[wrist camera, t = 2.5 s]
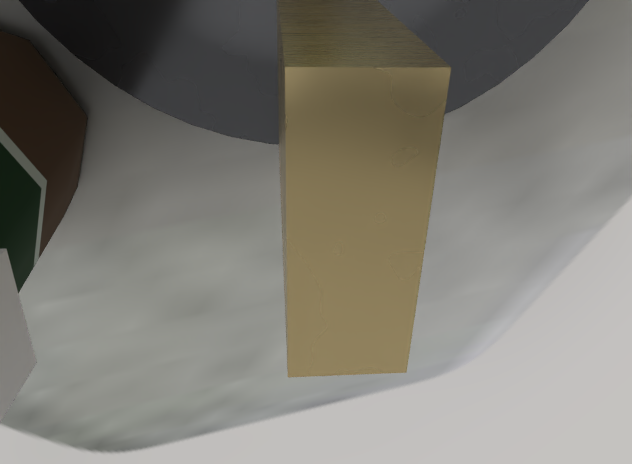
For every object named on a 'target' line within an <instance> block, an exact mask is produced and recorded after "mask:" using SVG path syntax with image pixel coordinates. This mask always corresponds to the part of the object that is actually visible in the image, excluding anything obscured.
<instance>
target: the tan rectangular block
mask: <svg viewBox="0 0 632 464" xmlns="http://www.w3.org/2000/svg"><path fill="white" fill-rule="evenodd" d="M277 56H278V117H279V163H280V188H281V214H282V239H283V265H284V290H285V316H286V341H287V367H288V377H307V376H332V375H356V374H381V373H405V372H407V365H408V358H409V351H410V344H411V338H412V331H413V324H414V317H415V311H416V304H417V297H418V290H419V283H420V277H421V270H422V263H423V256H424V249H425V243H426V236H427V229H428V222H429V215H430V209H431V202H432V195H433V188H434V182H435V175H436V168H437V161H438V154H439V148H440V141H441V134H442V127H443V120H444V114H445V107H446V100H447V93H448V86H449V80H450V73H451V67H450V66H449V65H448V64H447V63H446V62H445V61H444V60H443V59H441V58H440V57H439V56H438V55H437V54H436V53H435V52H434V51H433V50H432V49H430V48H429V47H428V46H427V45H426V44H425V43H424V42H423V41H422V40H420V39H419V38H418V37H417V36H416V35H415V34H414V33H413V32H412V31H411V30H409V29H408V28H407V27H406V26H405V25H404V24H403V23H402V22H401V21H399V20H398V19H397V18H396V17H395V16H394V15H393V14H392V13H391V12H390V11H388V10H387V9H386V8H385V7H384V6H383V5H382V4H381V3H380V2H378V1H377V0H277Z"/></svg>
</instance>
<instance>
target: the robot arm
mask: <svg viewBox="0 0 632 464" xmlns="http://www.w3.org/2000/svg"><path fill="white" fill-rule="evenodd" d="M36 363H37V362H36V358H35V354H34V350H33V347H32V343H31V339H30V335H29V332H28V328H27V324H26V320H25V317H24V313H23V309H22V305H21V302H20V298H19V294H18V290H17V287H16V283H15V279H14V275H13V272H12V268H11V264H10V260H9V257H8V253H7V249H0V422H1V421H2V419H3V417H4V416H5V414H6V412H7V411H8V409H9V407H10V406H11V404H12V402H13V401H14V399H15V398H16V396H17V394H18V393H19V391H20V389H21V388H22V386H23V384H24V383H25V381H26V379H27V378H28V376H29V374H30V373H31V371H32V369H33V368H34V366H35V364H36Z"/></svg>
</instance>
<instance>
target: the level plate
mask: <svg viewBox="0 0 632 464" xmlns="http://www.w3.org/2000/svg"><path fill="white" fill-rule="evenodd" d="M19 1H20V2H21V3H22V4H23V5H24V7H25V8H26V9H27V10H28V11H29V12H30V13H31V14H32V16H33V17H34V18H35V19H36V20H37V21H38V22H39V23H40V24H41V25H42V26H43V27H44V28H45V29H46V30H48V31H49V32H50V33H51V34H52V35H53V36H54V37H55V38H56V39H57V40H58V41H59V42H61V43H62V44H63V45H64V46H65V47H66V48H67V49H68V50H69V51H70V52H71V53H73V54H74V55H75V56H76V57H77V58H79V59H80V60H81V61H83V62H84V63H85V64H87V65H88V66H89V67H91V68H92V69H93V70H95V71H96V72H97V73H99V74H100V75H101V76H103V77H104V78H105V79H107V80H108V81H110V82H111V83H112V84H114V85H115V86H117V87H119V88H120V89H122V90H124V91H125V92H127V93H129V94H131V95H132V96H134V97H136V98H137V99H139V100H141V101H143V102H144V103H146V104H148V105H149V106H151V107H153V108H155V109H157V110H160V111H162V112H164V113H166V114H169V115H171V116H173V117H176V118H178V119H180V120H182V121H185V122H187V123H189V124H192V125H194V126H198V127H201V128H204V129H208V130H211V131H214V132H217V133H221V134H224V135H227V136H231V137H235V138H241V139H247V140H252V141H258V142H264V143H269V144H279V117H278V56H277V0H19ZM377 1H378V2H380V3H381V4H382V5H383V6H384V7H385V8H386V9H387V10H388V11H390V12H391V13H392V14H393V15H394V16H395V17H396V18H397V19H398V20H399V21H401V22H402V23H403V24H404V25H405V26H406V27H407V28H408V29H409V30H411V31H412V32H413V33H414V34H415V35H416V36H417V37H418V38H419V39H420V40H422V41H423V42H424V43H425V44H426V45H427V46H428V47H429V48H430V49H432V50H433V51H434V52H435V53H436V54H437V55H438V56H439V57H440V58H441V59H443V60H444V61H445V62H446V63H447V64H448V65H449V66H450V67H451V73H450V80H449V86H448V93H447V100H446V107H445V114H446V113H448V112H451V111H453V110H455V109H457V108H459V107H461V106H463V105H465V104H466V103H468V102H470V101H471V100H473V99H475V98H476V97H478V96H480V95H481V94H483V93H485V92H486V91H488V90H490V89H491V88H493V87H495V86H496V85H498V84H499V83H501V82H502V81H503V80H504V79H506V78H507V77H508V76H510V75H511V74H512V73H514V72H515V71H516V70H517V69H519V68H520V67H521V66H523V65H524V64H525V63H527V62H528V61H529V60H531V59H532V58H533V57H534V56H535V55H536V54H537V53H538V52H540V51H541V50H542V49H543V48H544V47H545V46H546V45H547V44H548V43H549V42H550V41H551V40H552V39H553V38H554V37H555V36H556V35H557V34H559V33H560V32H561V31H562V30H563V29H564V28H565V27H566V26H567V25H568V24H569V23H570V21H571V20H572V19H573V18H574V17H575V16H576V15H577V13H578V12H579V11H580V10H581V9H582V8H583V6H584V5H585V4H586V3H587V2H588V1H589V0H377Z"/></svg>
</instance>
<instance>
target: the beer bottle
mask: <svg viewBox="0 0 632 464" xmlns="http://www.w3.org/2000/svg"><path fill="white" fill-rule="evenodd" d="M86 124H87V117H86V114H85V113H84V112H83V110H82V109H81V108H80V106H79V105H78V104H77V102H76V101H75V100H74V98H73V97H72V96H71V94H70V93H69V92H68V91H67V89H66V88H65V87H64V85H63V84H62V83H61V81H60V80H59V79H58V77H57V76H56V75H55V73H54V72H53V71H52V70H51V68H50V67H49V66H48V64H47V63H46V62H45V60H44V59H43V58H42V56H41V55H40V54H39V52H38V51H37V50H36V48H35V47H34V46H33V45H32V43H31V42H30V41H29V40H26V39H23V38H20V37H17V36H14V35H11V34H8V33H5V32H2V31H0V249H7V253H8V257H9V260H10V264H11V268H12V272H13V275H14V279H15V283H16V287H17V290H18V293H19V291H20V289H21V288H22V286H23V284H24V283H25V281H26V279H27V278H28V276H29V274H30V273H31V271H32V269H33V267H34V266H35V264H36V262H37V261H38V259H39V257H40V256H41V254H42V252H43V250H44V249H45V247H46V245H47V244H48V242H49V240H50V239H51V237H52V235H53V234H54V232H55V230H56V228H57V227H58V225H59V223H60V222H61V220H62V218H63V217H64V215H65V212H66V210H67V208H68V206H69V204H70V202H71V200H72V198H73V195H74V193H75V191H76V189H77V186H78V179H79V173H80V166H81V159H82V152H83V145H84V138H85V131H86Z"/></svg>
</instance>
